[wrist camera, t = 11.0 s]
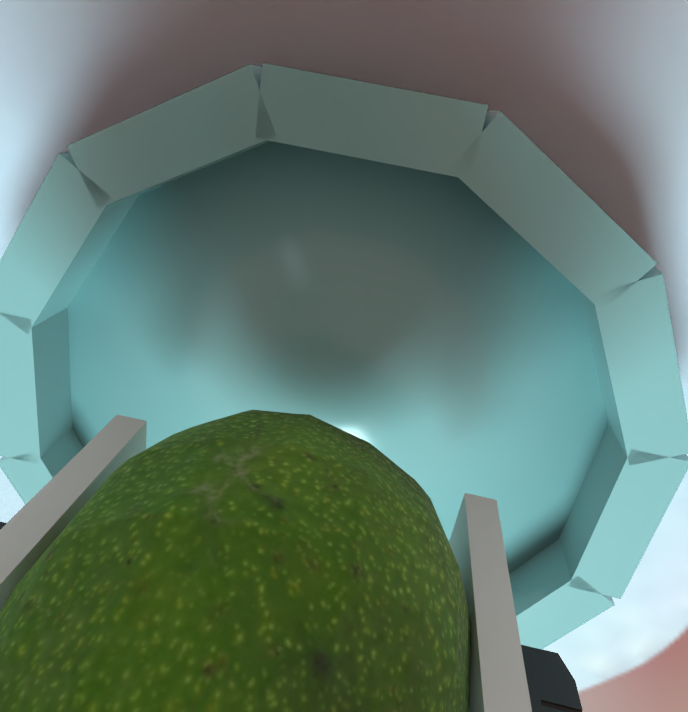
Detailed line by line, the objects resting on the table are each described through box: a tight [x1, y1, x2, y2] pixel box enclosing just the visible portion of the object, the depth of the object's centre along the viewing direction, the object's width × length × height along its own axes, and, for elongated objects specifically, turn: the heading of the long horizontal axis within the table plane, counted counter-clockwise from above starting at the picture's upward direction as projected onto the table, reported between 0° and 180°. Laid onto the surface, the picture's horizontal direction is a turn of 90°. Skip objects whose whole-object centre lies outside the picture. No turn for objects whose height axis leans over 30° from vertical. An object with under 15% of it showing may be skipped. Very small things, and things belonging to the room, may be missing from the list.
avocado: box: [0, 410, 471, 712], centre depth 9 cm, size 8×8×12 cm
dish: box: [0, 63, 688, 649], centre depth 17 cm, size 19×19×2 cm
